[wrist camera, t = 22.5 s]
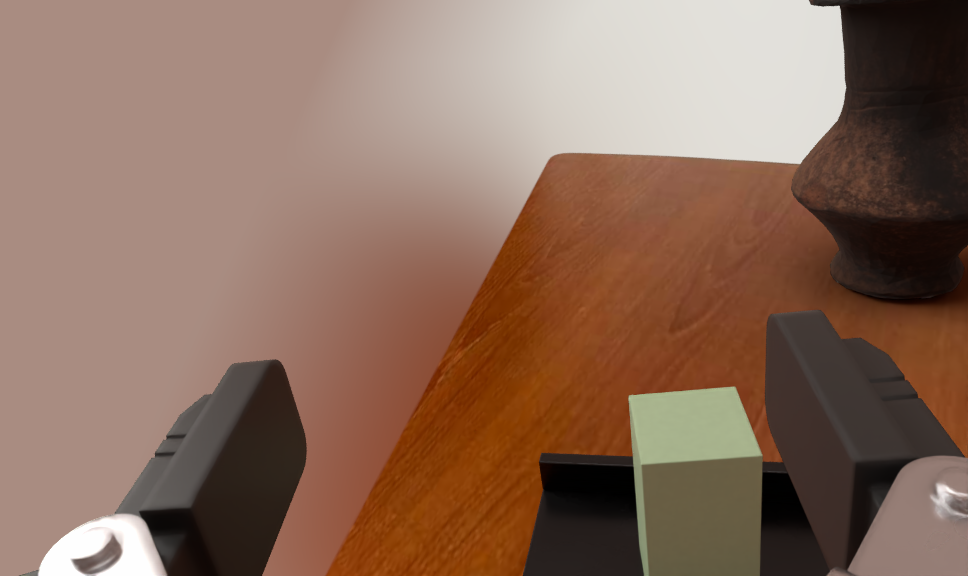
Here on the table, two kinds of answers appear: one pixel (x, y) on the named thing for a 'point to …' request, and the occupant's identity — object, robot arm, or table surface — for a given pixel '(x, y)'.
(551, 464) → the bench
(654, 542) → the block
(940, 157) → the jug
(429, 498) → the table surface
